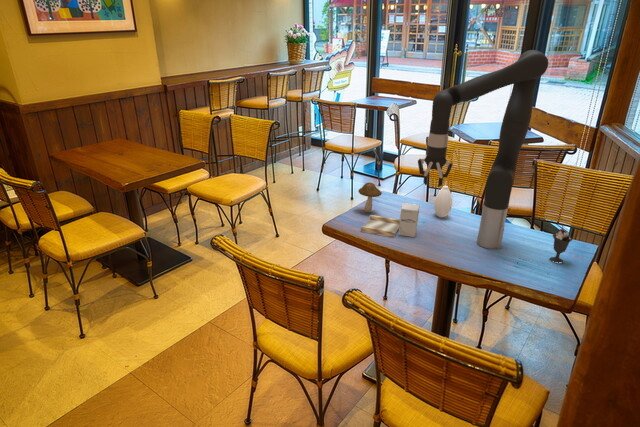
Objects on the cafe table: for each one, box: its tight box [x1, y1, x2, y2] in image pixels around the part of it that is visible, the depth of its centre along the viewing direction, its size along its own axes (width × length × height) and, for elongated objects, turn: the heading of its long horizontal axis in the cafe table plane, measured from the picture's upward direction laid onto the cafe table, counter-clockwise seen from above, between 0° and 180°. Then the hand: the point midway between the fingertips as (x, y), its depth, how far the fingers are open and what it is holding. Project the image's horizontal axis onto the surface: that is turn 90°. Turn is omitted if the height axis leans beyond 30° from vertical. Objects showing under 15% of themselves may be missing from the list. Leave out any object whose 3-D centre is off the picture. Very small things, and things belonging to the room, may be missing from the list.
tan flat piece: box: [360, 214, 400, 238], centre depth 191 cm, size 14×14×2 cm
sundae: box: [549, 223, 574, 263], centre depth 163 cm, size 7×7×15 cm
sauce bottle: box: [433, 180, 453, 219], centre depth 199 cm, size 8×8×18 cm
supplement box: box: [398, 202, 420, 238], centre depth 184 cm, size 7×7×13 cm
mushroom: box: [358, 182, 383, 213], centre depth 204 cm, size 9×11×15 cm
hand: (432, 185), depth 175 cm, fingers open, 4 cm apart
